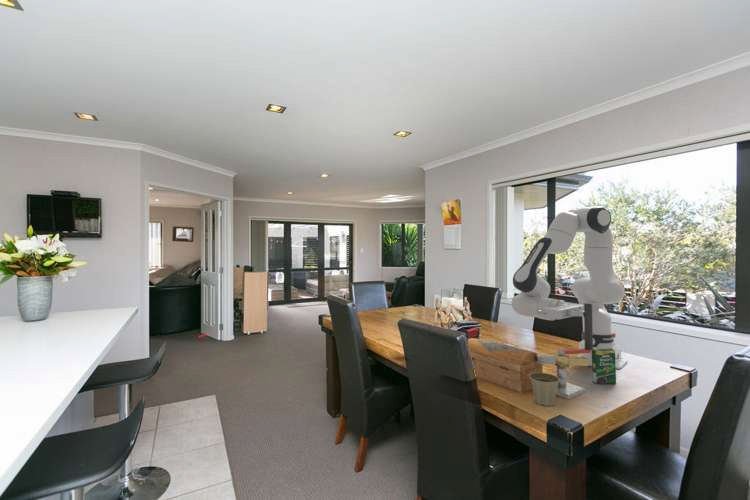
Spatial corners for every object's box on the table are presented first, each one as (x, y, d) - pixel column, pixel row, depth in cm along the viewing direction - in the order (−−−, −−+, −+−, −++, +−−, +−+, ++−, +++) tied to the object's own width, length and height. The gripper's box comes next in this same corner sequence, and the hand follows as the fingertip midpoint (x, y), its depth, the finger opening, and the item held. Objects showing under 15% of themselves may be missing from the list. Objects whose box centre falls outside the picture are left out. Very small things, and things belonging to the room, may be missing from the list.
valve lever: (560, 355, 129) (559, 305, 129) (556, 353, 131) (555, 304, 132) (594, 354, 130) (593, 304, 130) (589, 352, 133) (588, 303, 133)
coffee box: (596, 384, 136) (595, 350, 136) (591, 381, 139) (590, 348, 139) (616, 384, 136) (616, 350, 136) (611, 381, 139) (611, 348, 139)
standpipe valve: (554, 381, 140) (553, 348, 140) (591, 392, 128) (590, 356, 128) (533, 388, 132) (532, 353, 132) (570, 401, 121) (570, 363, 121)
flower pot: (551, 411, 114) (550, 384, 114) (523, 401, 121) (523, 376, 121) (565, 403, 119) (565, 378, 119) (538, 394, 127) (538, 370, 127)
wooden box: (545, 384, 137) (544, 349, 137) (521, 395, 127) (520, 356, 127) (481, 365, 161) (481, 334, 161) (457, 372, 152) (456, 340, 152)
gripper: (534, 303, 138) (570, 308, 127) (562, 299, 150) (597, 303, 138) (534, 319, 138) (570, 326, 127) (562, 314, 150) (597, 319, 138)
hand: (584, 314), depth 133 cm, fingers closed, pressing on valve lever
